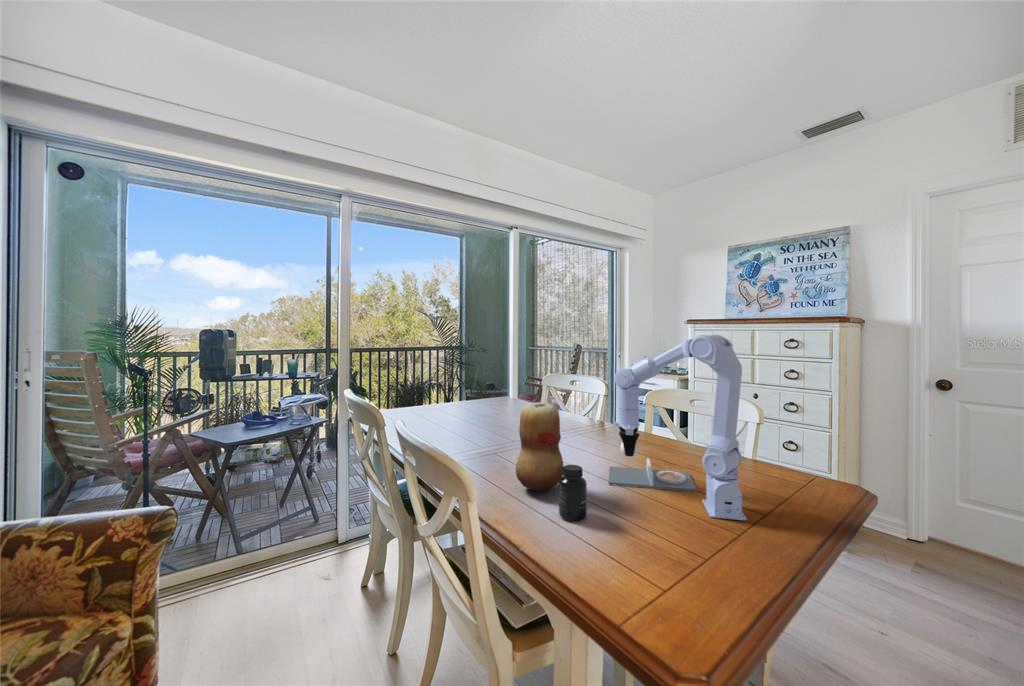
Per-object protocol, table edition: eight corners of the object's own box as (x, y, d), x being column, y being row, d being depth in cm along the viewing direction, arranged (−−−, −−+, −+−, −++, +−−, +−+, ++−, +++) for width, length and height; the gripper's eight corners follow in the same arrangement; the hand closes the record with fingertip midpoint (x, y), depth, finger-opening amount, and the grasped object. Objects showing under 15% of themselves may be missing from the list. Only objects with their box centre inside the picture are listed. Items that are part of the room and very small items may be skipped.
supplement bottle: (589, 522, 91) (588, 472, 91) (560, 522, 91) (559, 472, 91) (584, 509, 98) (583, 462, 98) (557, 509, 98) (557, 463, 98)
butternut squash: (524, 502, 103) (523, 409, 102) (510, 484, 115) (509, 401, 115) (572, 495, 106) (570, 405, 106) (553, 478, 119) (552, 398, 119)
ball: (638, 459, 113) (638, 442, 112) (620, 458, 114) (620, 441, 114) (637, 454, 117) (637, 438, 117) (620, 453, 119) (620, 437, 119)
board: (697, 492, 107) (697, 477, 107) (608, 484, 114) (608, 470, 113) (688, 474, 121) (688, 461, 120) (609, 468, 127) (609, 456, 127)
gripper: (615, 403, 123) (615, 445, 124) (614, 412, 109) (615, 459, 110) (638, 404, 122) (638, 446, 122) (640, 413, 108) (641, 461, 108)
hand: (629, 453), depth 116 cm, fingers closed on ball, 5 cm apart
